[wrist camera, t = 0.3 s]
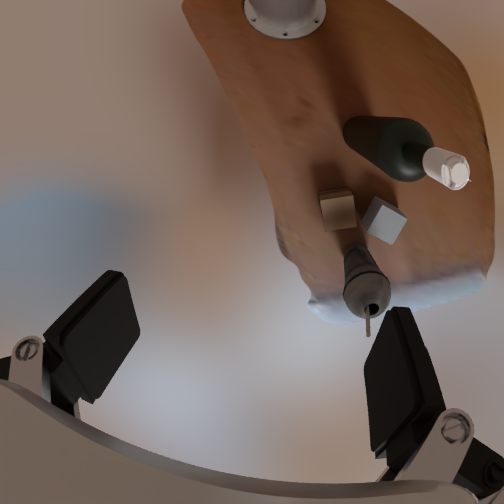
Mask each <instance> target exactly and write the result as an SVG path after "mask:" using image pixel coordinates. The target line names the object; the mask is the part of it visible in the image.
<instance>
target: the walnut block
mask: <svg viewBox="0 0 504 504" xmlns="http://www.w3.org/2000/svg"><path fill="white" fill-rule="evenodd" d="M319 197H320V203H321V209H322V215H323V221H324V227H325V232H326V231H333V230H339V229H346V228H353V227H357V223H356V214H355V205H354V198H353V194H352V193H351V191H350V189H349V187H345V188H339V189H332V190H326V191H319Z"/></svg>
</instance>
